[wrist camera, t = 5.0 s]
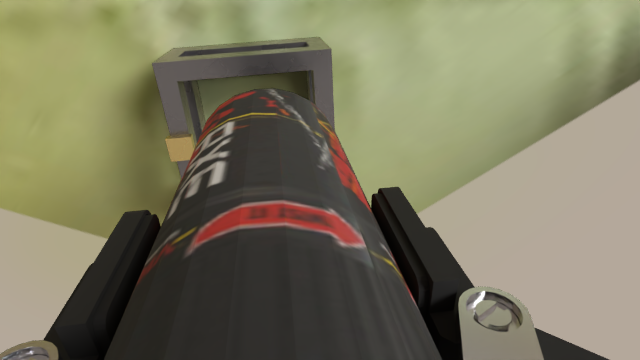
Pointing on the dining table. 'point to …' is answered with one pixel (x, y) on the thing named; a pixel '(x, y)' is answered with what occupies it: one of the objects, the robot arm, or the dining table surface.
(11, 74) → the dining table surface
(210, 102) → the dining table surface
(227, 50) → the grey open cube frame
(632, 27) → the dining table surface
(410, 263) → the robot arm
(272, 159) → the deodorant
